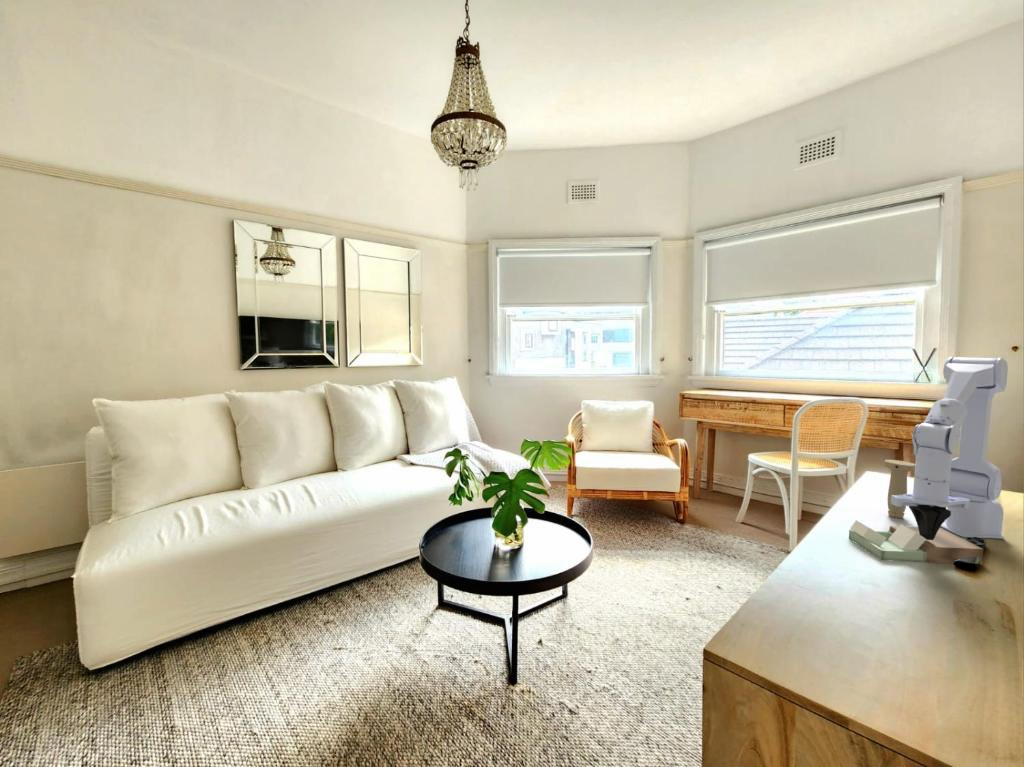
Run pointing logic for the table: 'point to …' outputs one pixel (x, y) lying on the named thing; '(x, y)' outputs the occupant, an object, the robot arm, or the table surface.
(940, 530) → the board
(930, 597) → the table surface
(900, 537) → the tile
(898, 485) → the handle
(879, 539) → the tile
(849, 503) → the table surface
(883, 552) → the tray
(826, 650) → the table surface
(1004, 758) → the table surface
